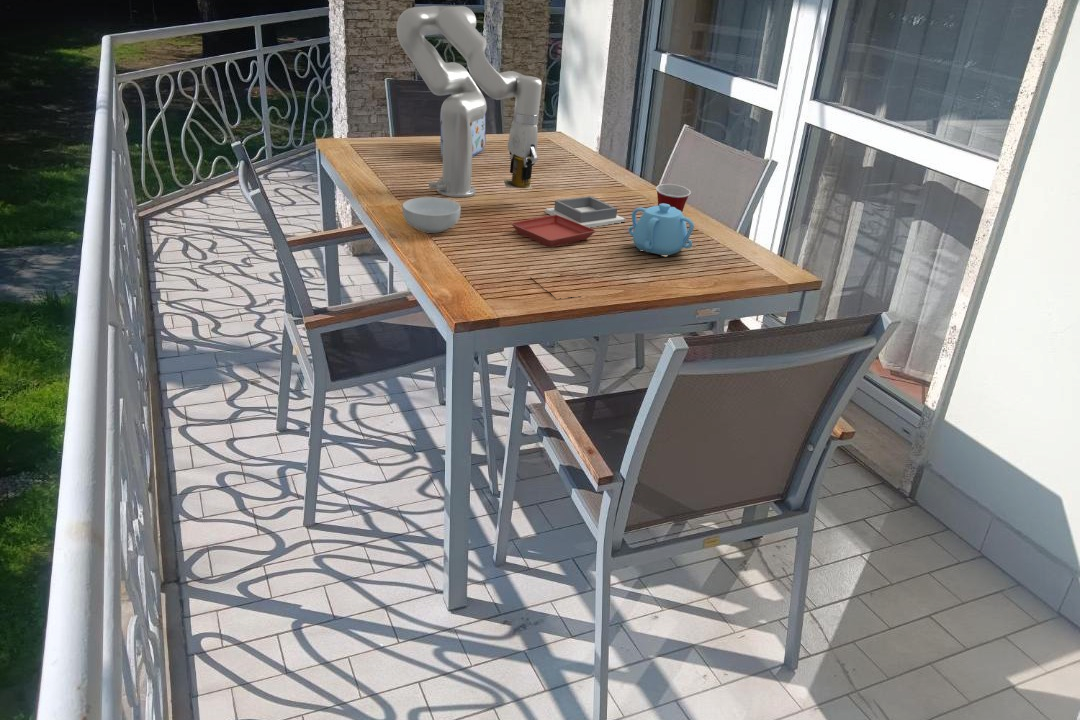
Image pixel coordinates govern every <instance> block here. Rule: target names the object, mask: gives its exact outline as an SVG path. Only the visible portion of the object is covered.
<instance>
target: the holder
mask: <svg viewBox="0 0 1080 720" xmlns="http://www.w3.org/2000/svg"><path fill="white" fill-rule="evenodd" d="M545 213H546V214H548V216H551V215H558V216H561V217H564V218H566V219H569V220H571V221H574V222H576V223H579V224H581V225H584V226H586V227H592V228H596V227H595V226H599V227H603V226H602V225H605V226H609V225H608V224H612V225H615V224H614V223H619V224H622V223H621V222H626V218H624V217H622V216H619V215H618V207H615V206H613V205H610V204H609V203H606V202H604V201H602V200H600V199H597V198H595V197H593V196H591V195H589V196H582V197H574V198H566V199H564V198H563V199H556V200H554V207H548V208H545Z"/></svg>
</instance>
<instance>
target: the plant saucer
mask: <svg viewBox="0 0 1080 720" xmlns="http://www.w3.org/2000/svg"><path fill="white" fill-rule="evenodd" d="M511 226H512V227H513V228H514V229H515V231H516V232H517V233H518V234H520V235H522V236H524V237H527V238H528V237H529V239H530V240H533V241H535V242H537V243H540V244H541V245H545V246H546V247H548V246H549V247H548V248H553V246H554V247H558V245H559V246H562V244H563V245H567V244H566V243H568V244H571V242H573V243H577V242H580V240H582V241H585V240H584V239H586V240H587V239H589V238H590V237H591V236H592V235H593V234H595V232H596V229H594V228H589V227H586V226H584V225H581V224H579V223H576V222H574V221H571V220H569V219H566V218H564V217H561V216H558V215H547V216H541V217H536V218H530V219H526V220H521V221H520V220H519V221H515V222H511ZM576 241H577V242H576Z"/></svg>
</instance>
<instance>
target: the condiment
mask: <svg viewBox="0 0 1080 720" xmlns="http://www.w3.org/2000/svg"><path fill="white" fill-rule="evenodd" d="M527 157H530V155H528V156H527ZM528 161H529V159H527V162H528ZM523 167H524V161H523V158H520V157H518V156H516V155H515V156H514V163H513V173H511V174H512V175H511V180H509V179H503V182H504V185H505V187H506V188H513V189H514V188H515V189H526V190H532V189H533V186H532V185H531V181H532V178H531V179H525V180H523V179H522V178H521V177H522V168H523ZM532 172H533V170H532V171H531V175H532V174H533V173H532Z"/></svg>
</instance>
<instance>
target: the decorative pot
mask: <svg viewBox="0 0 1080 720" xmlns="http://www.w3.org/2000/svg"><path fill="white" fill-rule="evenodd" d="M638 212H643V213H641V214H642V215H640V218H639V219H638V221H637V213H638ZM631 221H632V225H631V226H630V227H629V228H628V234H629V235H631V236H632V241H633V245H634V246H635V247H636V249H638V250H639V251H640V250H643V251H646V252H645V253H649V254H650V253H651V254H656V255H659V256H660V255H669V256H670V255H674V254H677V253H679V252H680V251H682V250H683V249H684V248H685V249H690V248H692V246H693V241H692V240H691V239H690V237H691V235H692V233H693V231H694V228H695V227H694V226H695V224H694V222H693V220H692V219H691V218H689V217H687V216H684V214H683V212H681V211H680V210H678V209H676V208H675V207H670V205H669V204H665V203H662V204H659V206H658V205H653V206H650V207H647V208H645V207H641V206H640V207H636V208H635V209H634V210H632V212H631ZM687 224H688V225H689V227H687ZM687 243H688V244H687Z"/></svg>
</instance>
